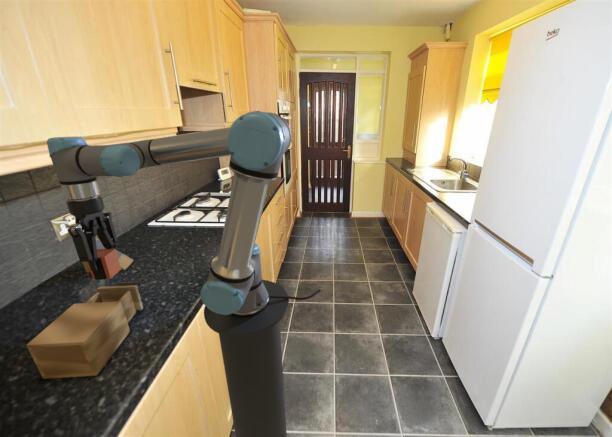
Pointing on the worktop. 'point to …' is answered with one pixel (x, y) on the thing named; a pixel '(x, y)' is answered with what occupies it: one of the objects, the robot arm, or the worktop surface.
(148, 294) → the worktop surface
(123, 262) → the sandwich container
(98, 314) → the tan rectangular box
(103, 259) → the block
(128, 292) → the drawer
